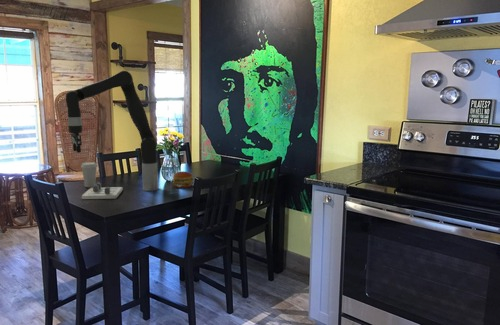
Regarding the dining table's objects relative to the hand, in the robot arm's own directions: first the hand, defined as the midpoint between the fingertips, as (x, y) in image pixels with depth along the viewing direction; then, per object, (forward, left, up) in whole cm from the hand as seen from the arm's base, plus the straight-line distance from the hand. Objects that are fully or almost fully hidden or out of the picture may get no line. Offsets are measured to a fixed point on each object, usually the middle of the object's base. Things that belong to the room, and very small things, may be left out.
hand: (77, 151), depth 250 cm
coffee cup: (-2, -16, -25) cm, 30 cm away
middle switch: (-11, +7, -23) cm, 26 cm away
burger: (-62, -10, -25) cm, 68 cm away
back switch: (-11, +1, -23) cm, 25 cm away
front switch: (-19, +13, -23) cm, 33 cm away
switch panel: (-15, +7, -25) cm, 30 cm away
